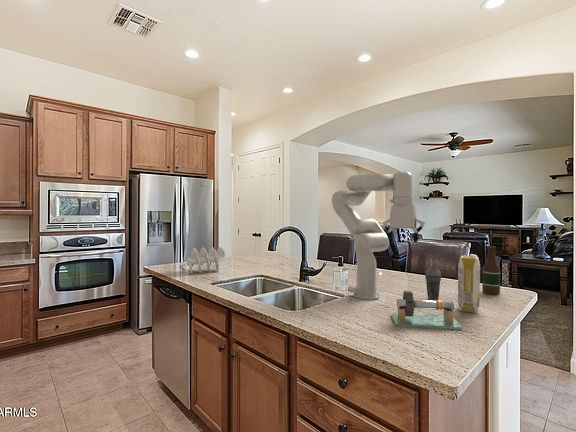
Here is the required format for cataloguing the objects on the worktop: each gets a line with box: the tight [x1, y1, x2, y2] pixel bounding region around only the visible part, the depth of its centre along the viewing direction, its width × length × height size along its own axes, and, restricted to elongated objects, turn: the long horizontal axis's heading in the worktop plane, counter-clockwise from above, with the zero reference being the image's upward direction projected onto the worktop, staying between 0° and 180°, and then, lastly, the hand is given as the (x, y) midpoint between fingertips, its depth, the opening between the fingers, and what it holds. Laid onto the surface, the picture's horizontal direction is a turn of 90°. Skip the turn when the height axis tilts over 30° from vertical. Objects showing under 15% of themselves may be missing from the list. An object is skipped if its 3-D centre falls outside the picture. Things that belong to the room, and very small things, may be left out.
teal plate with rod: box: [390, 298, 464, 331], centre depth 123 cm, size 23×12×9 cm, turn 79°
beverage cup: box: [424, 257, 443, 301], centre depth 153 cm, size 7×7×20 cm
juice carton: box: [457, 253, 481, 314], centre depth 137 cm, size 9×8×24 cm
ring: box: [402, 290, 415, 317], centre depth 124 cm, size 2×9×9 cm, turn 169°
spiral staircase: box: [185, 246, 226, 274], centre depth 223 cm, size 18×18×25 cm
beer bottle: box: [482, 245, 501, 296], centre depth 164 cm, size 8×8×24 cm
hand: (403, 242), depth 136 cm, fingers open, 9 cm apart
